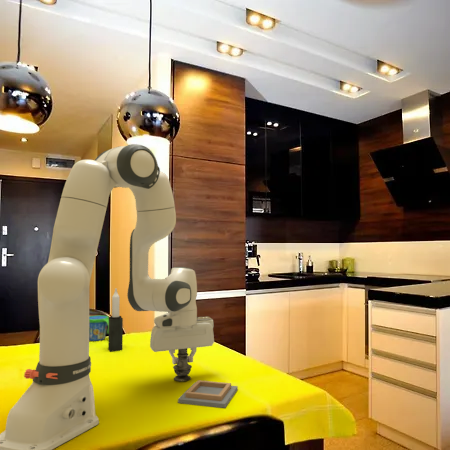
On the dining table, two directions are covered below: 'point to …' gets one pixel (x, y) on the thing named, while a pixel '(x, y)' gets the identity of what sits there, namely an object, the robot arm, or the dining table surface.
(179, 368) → the salt shaker
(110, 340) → the candle
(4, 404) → the dining table surface
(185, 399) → the base plate
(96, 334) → the snack cup
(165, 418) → the dining table surface
